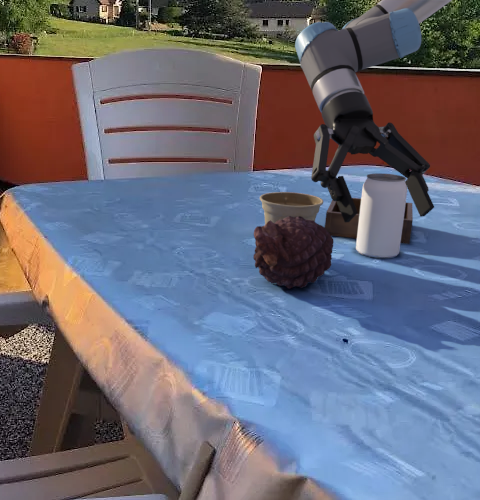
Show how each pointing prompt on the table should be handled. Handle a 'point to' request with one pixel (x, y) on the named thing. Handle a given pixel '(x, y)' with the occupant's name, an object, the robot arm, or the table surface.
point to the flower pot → (289, 205)
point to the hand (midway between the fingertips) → (390, 215)
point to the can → (381, 215)
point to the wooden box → (350, 229)
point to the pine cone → (292, 251)
